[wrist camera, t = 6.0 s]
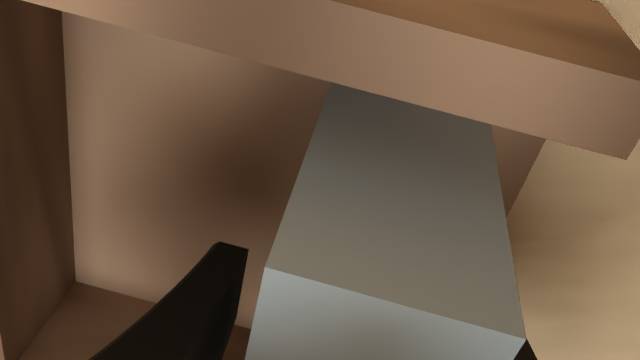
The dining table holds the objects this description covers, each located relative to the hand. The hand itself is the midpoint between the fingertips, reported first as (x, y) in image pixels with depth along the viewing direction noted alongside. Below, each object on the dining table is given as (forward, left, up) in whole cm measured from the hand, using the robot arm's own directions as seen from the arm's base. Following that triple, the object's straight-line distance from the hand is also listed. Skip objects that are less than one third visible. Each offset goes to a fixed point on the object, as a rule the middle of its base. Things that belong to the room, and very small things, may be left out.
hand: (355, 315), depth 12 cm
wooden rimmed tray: (+3, 0, -4) cm, 5 cm away
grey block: (0, 0, -3) cm, 3 cm away
